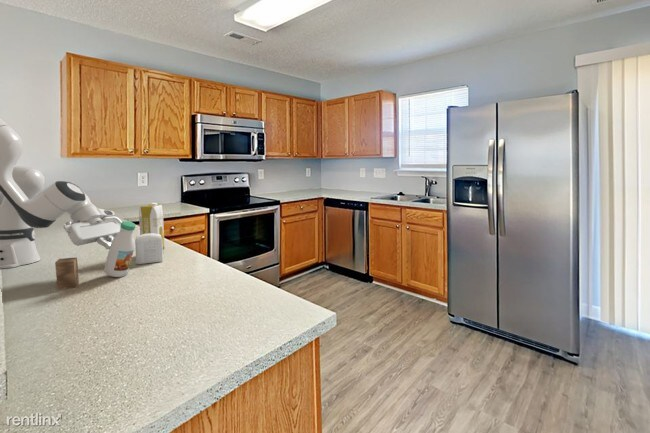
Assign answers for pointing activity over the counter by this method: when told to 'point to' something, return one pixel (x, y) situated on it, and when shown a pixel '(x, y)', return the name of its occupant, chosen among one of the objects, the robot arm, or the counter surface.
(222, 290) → the counter surface
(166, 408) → the counter surface
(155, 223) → the juice carton
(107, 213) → the robot arm
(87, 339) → the counter surface
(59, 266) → the walnut block
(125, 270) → the milk bottle
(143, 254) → the photo printer
